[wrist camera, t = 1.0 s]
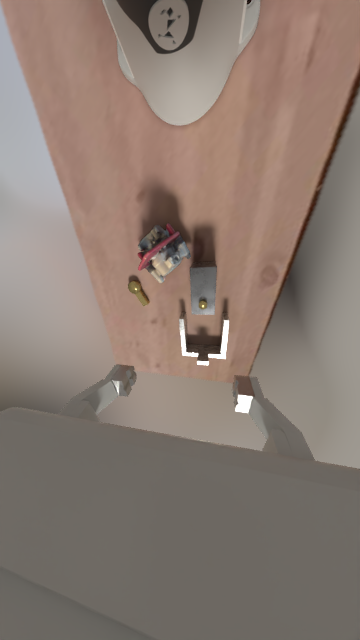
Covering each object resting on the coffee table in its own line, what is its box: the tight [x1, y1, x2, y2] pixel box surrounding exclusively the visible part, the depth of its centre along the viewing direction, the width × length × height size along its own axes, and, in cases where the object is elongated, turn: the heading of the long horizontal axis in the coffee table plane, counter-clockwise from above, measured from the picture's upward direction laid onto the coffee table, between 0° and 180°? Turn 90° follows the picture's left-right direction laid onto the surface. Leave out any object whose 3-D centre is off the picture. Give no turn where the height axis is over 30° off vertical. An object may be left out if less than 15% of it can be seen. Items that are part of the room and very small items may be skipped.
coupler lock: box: [190, 261, 217, 315], centre depth 32 cm, size 10×5×8 cm, turn 4°
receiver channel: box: [179, 312, 229, 365], centre depth 39 cm, size 13×12×7 cm
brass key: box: [128, 280, 149, 306], centre depth 39 cm, size 7×3×2 cm, turn 29°
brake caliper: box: [138, 223, 191, 283], centre depth 30 cm, size 11×11×12 cm
